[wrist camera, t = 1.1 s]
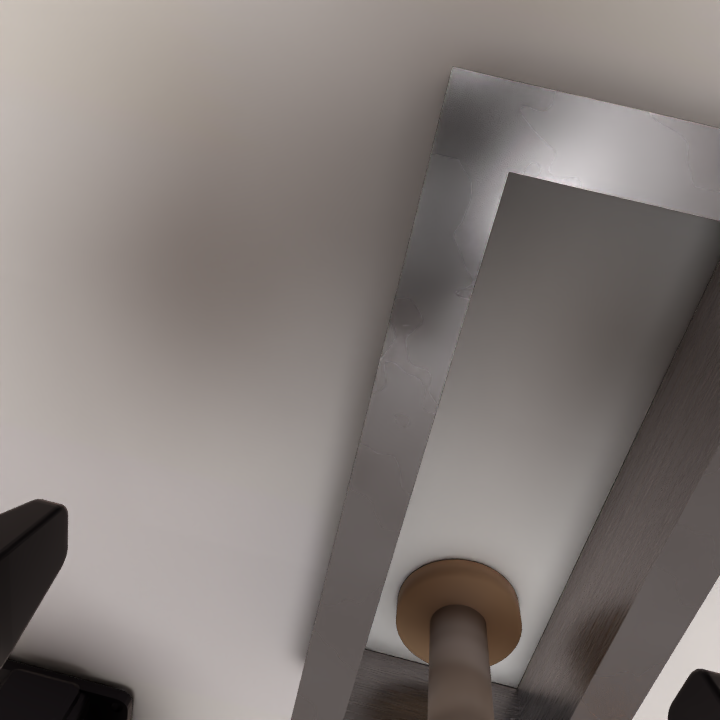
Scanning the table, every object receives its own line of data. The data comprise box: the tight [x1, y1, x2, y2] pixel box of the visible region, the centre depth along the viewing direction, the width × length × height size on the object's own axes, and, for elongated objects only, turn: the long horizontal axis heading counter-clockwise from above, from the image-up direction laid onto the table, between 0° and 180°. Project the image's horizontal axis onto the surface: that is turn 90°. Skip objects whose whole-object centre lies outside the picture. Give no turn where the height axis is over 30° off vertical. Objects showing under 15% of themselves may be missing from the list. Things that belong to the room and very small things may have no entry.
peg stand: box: [396, 559, 522, 720], centre depth 17 cm, size 4×4×6 cm
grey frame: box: [291, 67, 720, 720], centre depth 16 cm, size 20×9×4 cm, turn 168°
